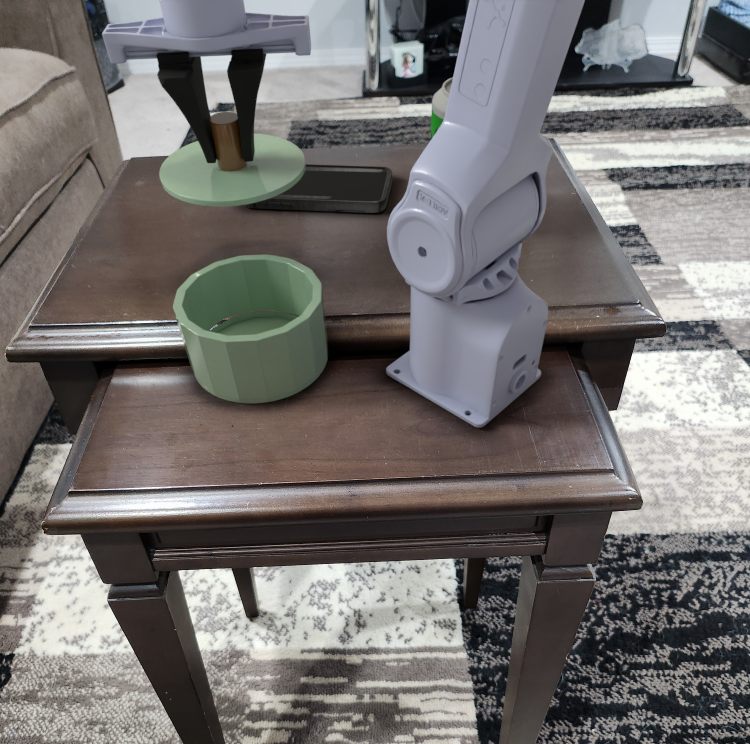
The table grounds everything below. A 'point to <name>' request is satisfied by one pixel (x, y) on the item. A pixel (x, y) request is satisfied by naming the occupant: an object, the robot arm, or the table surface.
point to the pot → (253, 327)
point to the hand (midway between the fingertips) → (231, 156)
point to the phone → (335, 190)
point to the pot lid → (232, 168)
